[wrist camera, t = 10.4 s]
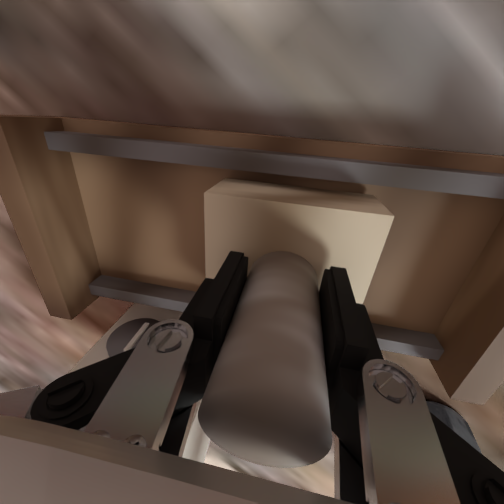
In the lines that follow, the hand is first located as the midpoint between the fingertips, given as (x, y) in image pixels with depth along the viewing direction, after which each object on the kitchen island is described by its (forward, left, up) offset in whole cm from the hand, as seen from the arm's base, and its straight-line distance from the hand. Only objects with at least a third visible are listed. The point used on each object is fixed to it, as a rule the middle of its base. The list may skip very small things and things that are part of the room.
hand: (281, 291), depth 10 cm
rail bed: (+2, 0, -6) cm, 6 cm away
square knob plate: (0, 0, -4) cm, 4 cm away
